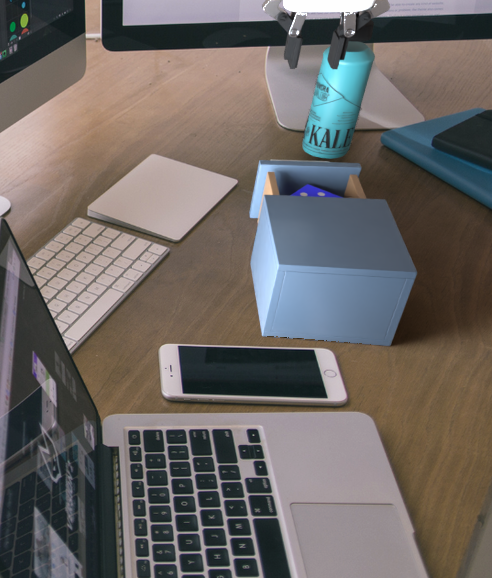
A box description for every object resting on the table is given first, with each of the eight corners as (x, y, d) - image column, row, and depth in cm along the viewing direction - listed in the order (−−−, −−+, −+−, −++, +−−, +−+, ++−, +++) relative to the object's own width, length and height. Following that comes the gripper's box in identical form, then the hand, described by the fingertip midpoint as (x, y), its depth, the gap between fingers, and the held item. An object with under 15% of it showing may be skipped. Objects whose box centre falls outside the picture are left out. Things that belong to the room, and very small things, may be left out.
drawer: (245, 193, 104) (255, 141, 99) (337, 197, 102) (351, 143, 97) (258, 270, 91) (270, 213, 86) (364, 276, 88) (383, 218, 84)
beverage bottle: (322, 143, 115) (356, 7, 103) (358, 161, 110) (398, 21, 98) (288, 154, 113) (318, 17, 101) (322, 173, 108) (358, 32, 96)
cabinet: (250, 262, 94) (264, 194, 88) (363, 269, 91) (385, 199, 85) (261, 336, 83) (278, 264, 77) (390, 346, 81) (417, 272, 75)
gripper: (422, -106, 86) (378, 54, 98) (262, -100, 90) (238, 53, 101) (441, -90, 81) (392, 78, 92) (270, -85, 84) (243, 76, 95)
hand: (312, 63), depth 96 cm, fingers open, 4 cm apart
